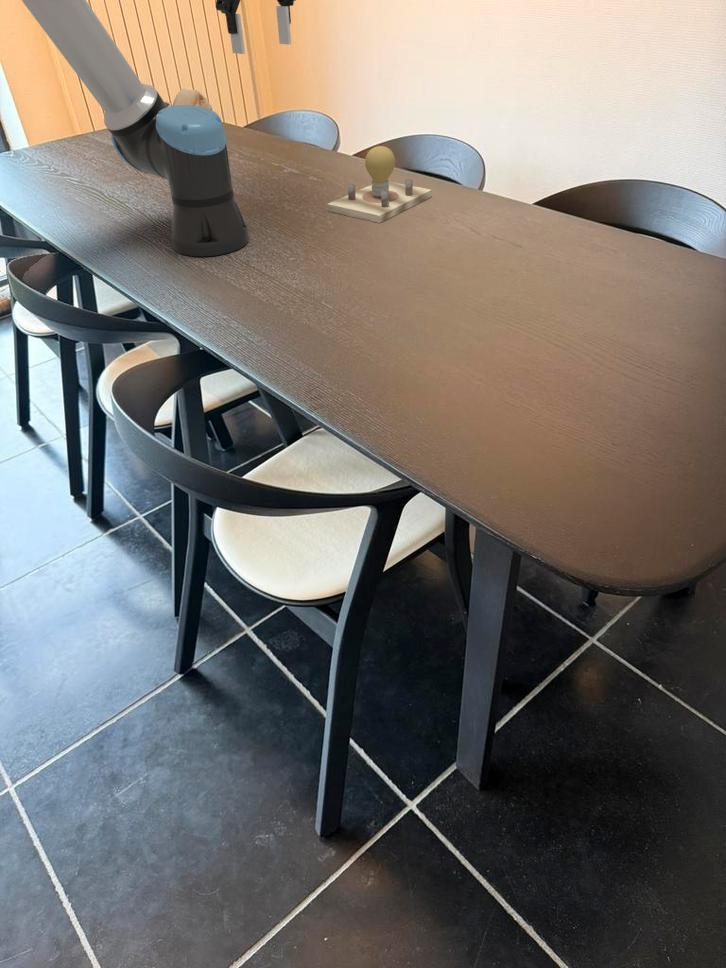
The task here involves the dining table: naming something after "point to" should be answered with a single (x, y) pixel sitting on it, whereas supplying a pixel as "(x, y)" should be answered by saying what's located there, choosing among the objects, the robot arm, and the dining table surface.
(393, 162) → the light bulb
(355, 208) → the pin nest
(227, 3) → the robot arm
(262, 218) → the dining table surface
